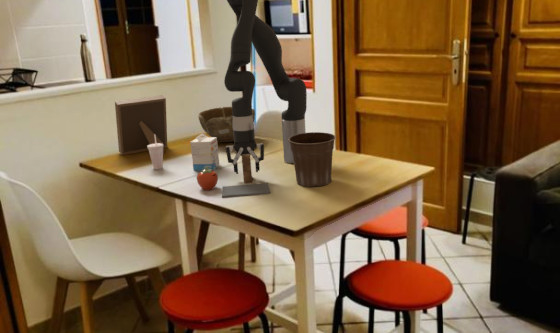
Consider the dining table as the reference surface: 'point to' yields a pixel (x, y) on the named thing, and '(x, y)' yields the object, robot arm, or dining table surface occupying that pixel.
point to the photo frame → (141, 123)
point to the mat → (245, 190)
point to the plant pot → (312, 158)
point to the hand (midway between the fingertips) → (246, 172)
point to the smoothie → (156, 154)
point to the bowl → (219, 123)
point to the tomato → (207, 179)
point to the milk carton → (204, 152)
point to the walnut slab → (246, 168)
